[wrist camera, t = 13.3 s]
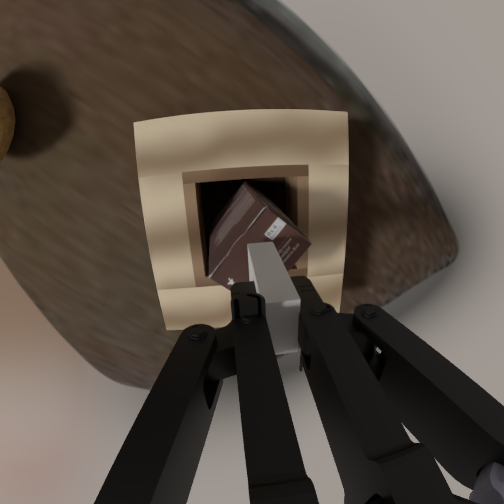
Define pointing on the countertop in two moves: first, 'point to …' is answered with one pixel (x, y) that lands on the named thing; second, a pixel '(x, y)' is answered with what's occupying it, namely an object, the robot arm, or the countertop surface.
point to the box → (250, 235)
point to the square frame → (231, 168)
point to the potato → (6, 122)
